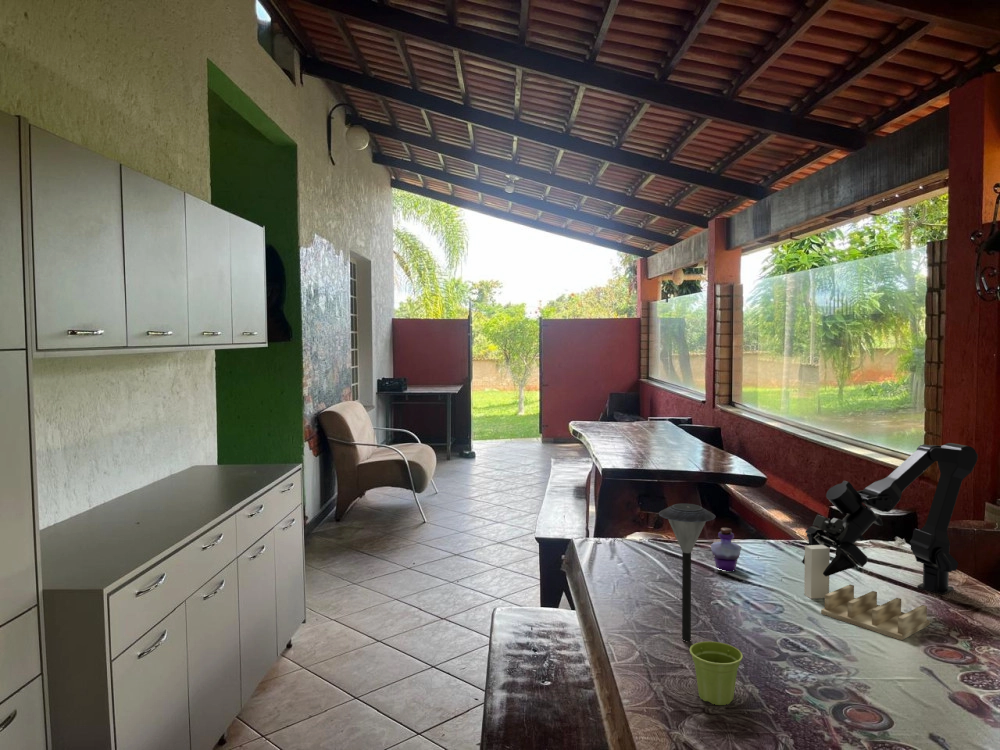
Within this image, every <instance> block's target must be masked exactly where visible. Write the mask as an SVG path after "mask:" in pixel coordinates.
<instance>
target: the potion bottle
mask: <svg viewBox="0 0 1000 750" xmlns="http://www.w3.org/2000/svg"><path fill="white" fill-rule="evenodd" d="M732 531H733V530H732V528H729V527H721V528H720V531H719V532H718V533H717V537H718V538H719V539H720V541H714V542H713V543H711V544H710V548H711V554H712V555H713V559H714V563H715V568H716V567H717V568H719V569H722V570H726V571H733V570H735V571H736V568H737V564H738V560H739V558H740V555H741V552H742V551H741V550H742V546H741V545H739V544H737V543H735V542H732V540H733V539H734V538H735V533H733V532H732Z"/></svg>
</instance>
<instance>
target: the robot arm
mask: <svg viewBox="0 0 1000 750" xmlns="http://www.w3.org/2000/svg"><path fill="white" fill-rule="evenodd" d="M978 458H979V454H978V453H977V451H976V449H975V448H974V447H972V446H969V445H965V444H959V443H953V442H948V443H947V442H946V443H945V444H943V445H935V444H933V445H931V444H924V443H923V444H922V445H921V444H920V445H918V447H917V448H916V449H915V451H914V452H913V453H912V454H910V456H908V458H906V459H904V461H903V462H902V463H901V464H899V466H898V467H896V468H895V469H894V470H893V471H892V472H891V473H890V474H889V475H887V476H886V477H885V478H882V479H879V480H875V481H874V482H873V483H870V484H869V485H868V486H866V487H865V488H863V490H862V489H861V490H856V489H855V488H854V486H853V484H852V483H851V482H850V481H846V480H843V481H842V482H841V483H837V484H835V485H834V486H831V487H830V488H829V489H828V490H827V492H826V494H825V497H826V499H828V501H829V502H830V503H832V505H833V506H834V507H835V508H836V509H837V510H838V511H839V512H840V514H842V515H843V514H844V515H846V516H844V517H843V518H842V519H840V518H836V517H833V518H832V519H830V518H828V517H825V516H823V515H820V514H816V516H815V518H814V520H813V523H812V526H809V527H808V528H807V529H806V530H805V533H806V537H807V539H808V545H824V546H826V547H828V548H833V549H835V556H834V557H833V559H832V560H831V562H829V565H828V567H827V568H826V569H825V571H824V572H823V575H824V576H826V577H827V576H829V577H830V576H831V575H835V574H837V573H840V572H844V571H847V570H850V569H853V568H855V569H857V568H859V567H861V568H863V567H865V565H867V563H868V556H867V555H866V554H865V553H864V552H863V550H861V548H860V547H858V546H857V545H856V544H855V543H856V542H857V541H858V540H859V541H860V542H862V541H863V540H864V539H865V537H864V536H863V535H864V533H866V531H868V529H869V528H870V527H871V526H872V525H873V524H875V525H876V526H877V525H878V526H880V527H881V526H883V520H882V514H880V513H877V512H875V511H874V510H877V511H879V512H882V513H888V512H891V511H893V510H894V508H895V507H896V505H897V504H898V503H899V502H900V501H901V499H902V494H903V492H904V491H905V490H906V489H907V487H909V486H910V485H911V484H912V483H913V482H914V481H915V480H916V479H917V478H918V477H920V476H921V475H922V474H924V472H925V471H926V470H928V469H929V468H930V467H931V466H932V465H933V464H934V463H935V462H937V464H938V465H937V466H938V468H939V469H938V470H939V479H938V481H937V485H936V488H935V492H934V496H933V498H932V502H931V505H930V508H929V511H928V515H927V518H926V522H925V524H924V526H922V527H921V528H920V529H917V528H914V529H913V531H912V537H911V539H910V540H909V543H910V550H911V552H912V554H913V555H914V558H915V560H916V562H918V563H920V564H922V583H920V584H918V585H917V588H918V589H921V590H926V591H929V592H933V593H935V594H941V595H946V594H947V593H950V592H951V591H953V590H954V589H955V588H954V587H953V586H950V585H949V580H950V579H949V573H951V572H953V571H954V572H956V571H957V569H958V566H959V562H958V561H957V560H956V559H955V558H954V557H953V556H952V555H951V553H950V549H951V548H950V547H951V542H950V539H949V536H948V529H949V526H950V522H951V519H952V516H953V513H954V509H955V506H956V502H957V499H958V496H959V493H960V490H961V486H962V482H963V480H965V478H966V477H967V476H969V475H970V474H972V472H973V470H974V469H975V466H976V464H977V463H978ZM872 509H873V510H872ZM801 563H802V565H804V566H805V555H804V556H803V558H802V560H801Z"/></svg>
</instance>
